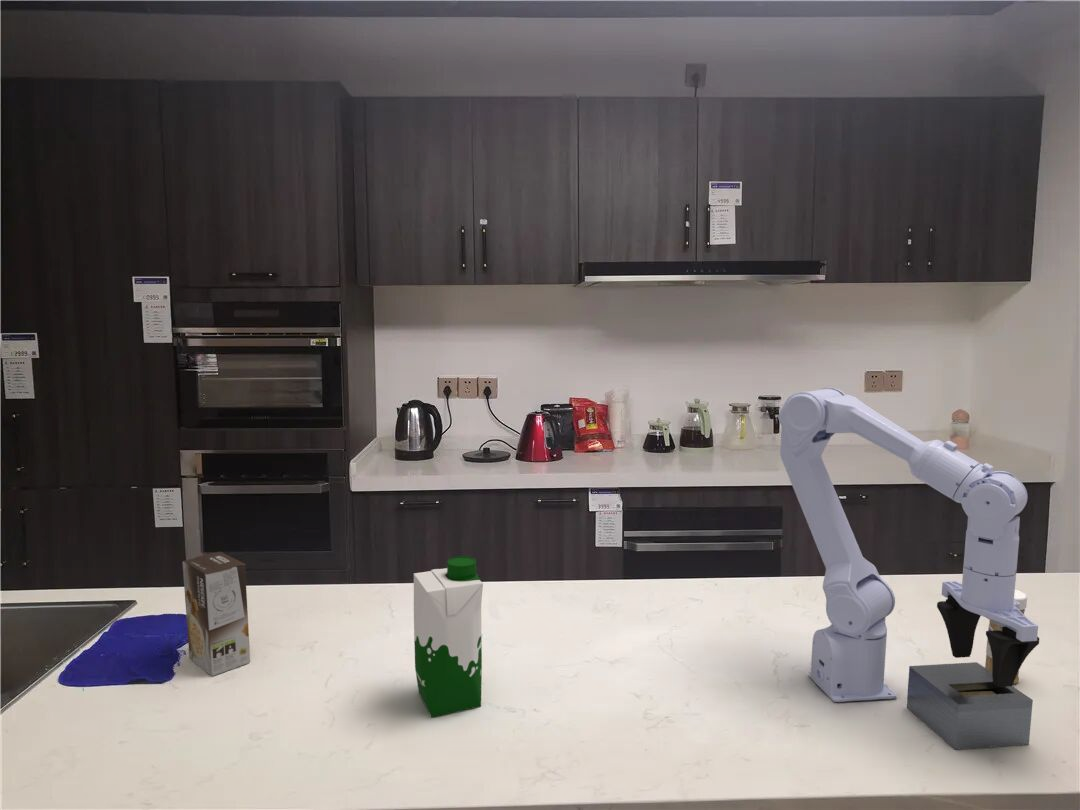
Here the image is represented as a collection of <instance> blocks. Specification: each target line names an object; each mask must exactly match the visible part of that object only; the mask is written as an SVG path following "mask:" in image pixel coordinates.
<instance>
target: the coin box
mask: <svg viewBox="0 0 1080 810" xmlns="http://www.w3.org/2000/svg"><path fill="white" fill-rule="evenodd" d="M908 667H909V669H908V682H907V696H906V708H907V709H908V710H909V709H910V710H911V711H910V710H909V711H910V712H912V713H913V714H914V715H915V716H917V718H918V719H919V720H920V721H922V722H923V723H924V724H925V725H926V726H927V727H929V728H930V729H931V730H932V731H933V732H934V733H935V734H936V735H937V736H939V737H940V738H941V739H942V740H944V741H945V742H946V743H947V744H948V745H949V746H950V747H951V748H952V749H954V750H959V751H960V750H969V749H970V750H971V749H984V748H997V747H1013V746H1014V747H1015V746H1028V745H1029V744H1030V736H1031V735H1030V734H1031V725H1032V722H1031V721H1032V714H1033V701H1034V700H1033V699H1032V698H1031V697H1029V696H1028V695H1026V694H1025V693H1023V692H1022V691H1020V690H1019V689H1018V688H1016V687H1015V686H1013V685H1012V686H1006V687H997V686H996V685H994V683H993V677H992V672H991V671H989V670H988V669H986V668H985V666H983V665H982V664H980V663H979V662H977V661H976V662H975V661H973V662H961V663H960V662H959V663H957V662H955V663H941V664H924V665H923V664H922V665H909V666H908ZM980 691H993V692H994V693H995V694H994V695H979V696H963V695H962V694H960V693H959V692H980Z"/></svg>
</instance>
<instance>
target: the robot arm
mask: <svg viewBox="0 0 1080 810" xmlns="http://www.w3.org/2000/svg"><path fill="white" fill-rule="evenodd" d="M777 419H778V421H779V423H780V426H781V428H780V429H781V431H780V432H781V433H780V449H779V451H780V452H779V453H780V454H779V455H780V459H781V462H782V463H783V466H784V468H785V471H786V474H787V476H788V478H789V481H790V483H791V486H792V488H793V491H794V494H795V495H796V498H797V500H798V503H799V506H800V508H801V510H802V513H803V515H804V517H805V519H806V520H805V521H806V523H807V526H808V528H809V530H810V532H811V535H812V537H813V540H814V543H815V545H816V547H817V550H818V552H819V555H820V558H821V560H822V562H823V565H824V567H825V573H824V577H823V580H822V581H823V582H822V590H823V592H824V596H825V602H826V603H825V612H826V616H827V618H828V620H829V622H830V625H829V626H827V627H824V628H821V629H817V630H816V631H814V634H813V637H812V644H811V645H812V647H811V662H810V663H811V664H810V665H811V667H810V671H808V673H807V674H808V677H810V678H811V679H812V681H813V683H815V684H816V685H818V687H819V688H820V689H821V690H822V691H823V692H824V693H825V694H826V695H827V696H828V697H829V698H830V699H831V701H833V702H835V703H836V702H837V703H841V702H842V703H843V702H853V701H854V702H857V701H873V700H888V699H897V694H896V692H895V691H893V689H891V688H890V687H889V686H888V685H887V684H885V669H886V652H887V651H886V650H887V639H888V638H887V637H888V636H887V635H888V634H887V633H888V628H887V624H886V617H888V616H889V615H891V614H892V613H893V611H894V609H895V607H896V606H895V605H896V596H895V594H894V592H893V589H892V588H891V586H890V585H889V584H888V583H887V582H886V581H885V580H884V579H883V578H882V577H881V575H880V574H879V572H878V569H877V568H876V567H877V566H875V565H874V564H873V563H872V562H870V561H869V560H867V559H866V558H865V557H863V554H862V551H861V549H860V547H859V544H858V542H857V540H856V537H855V534H854V532H853V530H852V528H851V526H850V522H849V520H848V518H847V516H846V515H847V514H846V513H845V511H844V508H843V506H842V503H841V500H840V498H839V496H838V494H837V491H836V490H835V487H834V485H833V481H832V479H831V476H830V474H829V472H828V469H827V467H826V465H825V462H824V460H823V458H822V455H823V452H824V451H825V449H826V447H827V445H828V443H829V441H830V440H831V437H833V436H834V435H835V434H837V433H838V434H841V433H842V434H845V433H848V434H849V433H852V434H855V435H858V436H859V437H861V438H863V439H865V440H866V441H869V442H870V443H872V444H874V445H876V446H878V447H879V448H881V449H883V450H885V451H887V452H889V453H891V454H893V455H894V456H896V457H898V458H900V459H901V460H904V461H905V462H907V464H908V466H909V469H910V472H911V475H912V476H913V477H914V478H916V479H918V480H919V481H921V482H923V483H924V484H926V485H927V486H930V487H931V488H932V489H934V490H936V491H938V492H939V493H940V494H943V495H944V496H946V497H947V498H949V499H951V500H952V501H954V502H956V503H959V504H961V507H962V510H963V511H964V513H965V514H966V516H967V524H966V525H967V529H966V530H965V542H964V543H965V544H964V555H963V558H964V559H963V564H962V565H963V566H962V567H963V568H962V579H961V582H958V581H957V580H955V581H954V580H952V581H949V580H947V581H942V585H941V596H943V597H945V600H943V601H941V600H940V601H938V602H937V603H936V608H937V609H938V611H939V613H940V615H941V617H942V619H943V622H944V624H945V628H946V631H947V635H948V639H949V645H950V649H951V653H952V657H954V658H956V659H959V658H970V657H971V654H972V653H973V646H974V642H975V641H974V640H975V634H976V629H977V626H978V623H979V621H980V619H981V617H983V618H986V619H987V620H989V621H990V620H991V621H993V622H994V623H996V624H998V625H999V626H1001V627H1002V631H1001V630H996V631H988V630H986V631H985V635H986V638H988V641H989V644H990V648H991V653H992V677H993V683H994V685H996V686H997V687H1006V686H1013V685H1014V684H1013V683H1014V680H1015V678H1016V676H1017V673H1018V671H1019V672H1020V669H1021V667H1022V665H1023V663H1024V662H1025V660H1026V658H1027V657H1028V656H1029V655H1030V654H1031V653H1032V651H1033V650H1034V649H1035V648H1036V647H1037V646H1039V644H1040V637H1039V636H1038V635H1039V634H1038V631H1039V625H1037V624H1036V623H1034V622H1033V621H1031V619H1029V618H1028V617H1027V616H1026V615H1025V613H1024V614H1023V613H1022V612H1021V611H1020V610H1019V608H1020V603H1019V602H1017V601H1015V600H1014V594H1015V590H1016V581H1017V579H1016V578H1017V571H1018V570H1017V569H1018V556H1019V545H1020V536H1019V535H1020V533H1019V530H1020V520H1021V519H1020V518H1021V517H1020V516H1018V515H1019V514H1020V513H1021V512H1022V511H1023V510H1024V508H1025V507H1026V505H1027V502H1028V498H1029V497H1028V492H1027V491H1028V490H1027V488H1026V487H1025V485H1024V484H1023V482H1022V481H1021V480H1019V479H1018V478H1017V477H1015V475H1014V474H1013V473H1011V472H1008V471H1004V470H995V471H993V470H994V466H993V465H991V464H989V463H988V462H986V463H984V464H983V463H981V462H978V461H977V460H975V459H974V458H971V457H970V456H968V455H966V454H965V453H963V452H961V451H960V450H958V449H957V448H958V444H956V443H955V442H953V441H951V440H947V441H945V442H943V441H941V440H940V439H932V440H928V441H924V440H921V439H919V438H918V437H916V436H915V435H913V434H912V433H911V432H909V431H907V430H906V429H904V428H902V427H901V426H899V425H898V424H896V423H895V422H893V421H892V420H890V419H889V418H886V417H885V416H884V415H883V414H881V413H879V412H877V411H876V410H874V409H872V408H871V407H870V406H868V405H866V404H865V403H864V402H862V401H861V400H859V398H857V397H855V396H853V395H850V394H846V393H844V391H842V390H840V389H839V388H838V387H837V388H835V387H831V386H829V387H824V388H821V389H817V390H810V391H798V392H794V393H792V394H791V395H790V396H789V397H788V398H786V400H785V402H784V404H783V405H782V408H781V409H780V412H779V413H778V415H777ZM1016 515H1017V516H1016Z"/></svg>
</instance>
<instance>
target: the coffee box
mask: <svg viewBox="0 0 1080 810" xmlns="http://www.w3.org/2000/svg"><path fill="white" fill-rule="evenodd" d="M181 562H182V572H183V573H182V575H183V587H184V590H183V591H184V600H185V601H184V602H185V612H186V613H185V615H186V628H187V629H186V630H187V643H188V645H187V646H188V658H189V660H191V661H192V662H194V664H196V665H198V667H200V668H201V669H202V670H203V671H205V672H206V673H207V674H208V675H210V676H211V677H214V676H217V675H220V674H222V673H225V672H227V671H231V670H233V669H236V668H239V667H242V666H246V665H247V664H250V662H251V652H250V651H251V650H250V647H251V646H250V633H249V615H248V614H249V613H248V611H249V610H248V597H247V596H248V595H247V577H246V576H247V575H246V563H244V562H242V561H240V560H238V559H236V558H234V557H232V556H230V555H228V554H226V553H224V552H222V551H216V552H213V553H208V554H203V555H200V556H196V557H194V558H189V559H185V560H183V561H181Z"/></svg>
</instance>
